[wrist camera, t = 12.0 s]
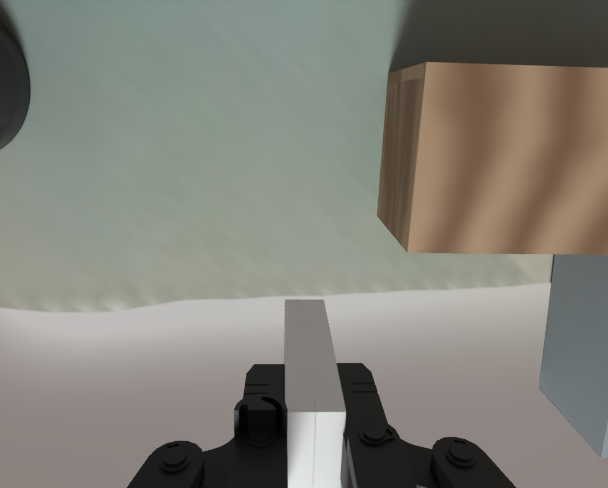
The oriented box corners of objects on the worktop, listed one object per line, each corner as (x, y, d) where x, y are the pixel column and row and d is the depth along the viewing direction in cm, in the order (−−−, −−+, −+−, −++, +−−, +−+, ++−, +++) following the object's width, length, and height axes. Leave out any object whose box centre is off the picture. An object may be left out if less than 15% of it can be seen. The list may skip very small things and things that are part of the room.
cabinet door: (557, 231, 47) (635, 267, 37) (583, 229, 47) (668, 265, 37) (538, 388, 53) (600, 458, 43) (561, 386, 53) (629, 456, 43)
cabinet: (377, 216, 47) (407, 252, 35) (388, 73, 42) (426, 62, 31) (562, 218, 48) (650, 255, 36) (591, 79, 43) (701, 70, 32)
